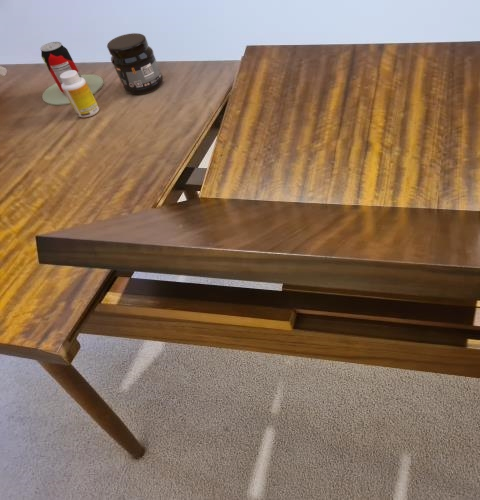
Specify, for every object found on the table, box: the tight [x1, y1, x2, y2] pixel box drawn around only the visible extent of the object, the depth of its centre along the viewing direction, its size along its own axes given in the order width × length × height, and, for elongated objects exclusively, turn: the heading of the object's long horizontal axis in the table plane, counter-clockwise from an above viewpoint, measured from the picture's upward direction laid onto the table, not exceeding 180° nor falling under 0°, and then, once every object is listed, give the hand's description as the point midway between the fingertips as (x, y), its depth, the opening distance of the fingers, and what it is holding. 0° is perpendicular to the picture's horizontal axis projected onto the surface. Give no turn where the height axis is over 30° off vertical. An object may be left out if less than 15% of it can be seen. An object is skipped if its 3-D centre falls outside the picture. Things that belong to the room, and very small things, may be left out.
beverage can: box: [39, 41, 82, 93], centre depth 119 cm, size 6×6×12 cm
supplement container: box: [106, 32, 164, 95], centre depth 118 cm, size 10×10×12 cm
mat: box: [41, 73, 105, 106], centre depth 124 cm, size 16×16×1 cm
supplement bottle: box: [60, 70, 100, 119], centre depth 111 cm, size 6×6×10 cm
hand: (1, 66), depth 113 cm, fingers open, 8 cm apart
